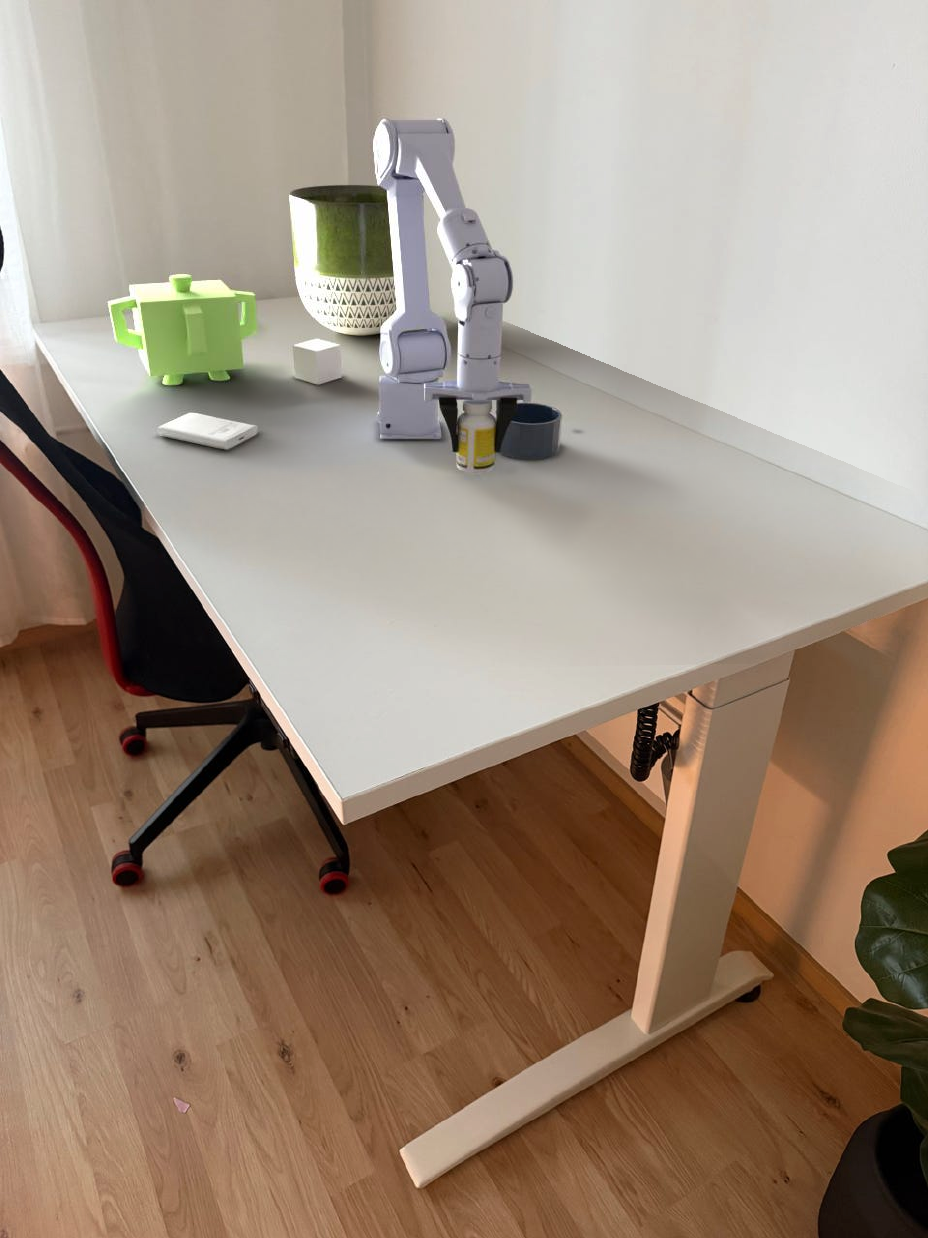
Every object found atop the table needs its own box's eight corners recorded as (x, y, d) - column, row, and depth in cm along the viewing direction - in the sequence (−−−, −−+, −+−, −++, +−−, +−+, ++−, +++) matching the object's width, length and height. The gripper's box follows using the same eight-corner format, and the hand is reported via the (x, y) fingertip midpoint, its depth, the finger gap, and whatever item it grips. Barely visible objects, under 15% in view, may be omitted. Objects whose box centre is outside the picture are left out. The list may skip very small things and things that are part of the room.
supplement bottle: (499, 463, 136) (502, 396, 131) (487, 477, 131) (490, 408, 126) (463, 457, 137) (465, 391, 132) (450, 471, 133) (452, 403, 128)
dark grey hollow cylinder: (497, 459, 141) (499, 424, 138) (491, 435, 150) (492, 402, 147) (563, 459, 142) (566, 424, 139) (553, 435, 151) (556, 402, 148)
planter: (419, 350, 191) (420, 205, 176) (287, 345, 190) (277, 200, 176) (426, 317, 213) (426, 186, 199) (308, 313, 213) (300, 182, 199)
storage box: (129, 399, 160) (112, 294, 151) (114, 362, 178) (98, 266, 169) (274, 384, 169) (267, 285, 160) (246, 351, 186) (238, 259, 178)
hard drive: (193, 421, 152) (257, 434, 148) (159, 437, 146) (225, 450, 141) (192, 411, 151) (257, 423, 147) (157, 426, 145) (224, 440, 140)
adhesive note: (318, 370, 177) (316, 338, 174) (341, 377, 174) (340, 344, 171) (294, 377, 173) (292, 344, 170) (318, 384, 170) (316, 351, 167)
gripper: (425, 361, 122) (424, 460, 129) (537, 362, 123) (530, 460, 130) (423, 346, 128) (423, 441, 135) (530, 347, 129) (523, 441, 136)
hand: (475, 449), depth 133 cm, fingers closed on supplement bottle, 5 cm apart
